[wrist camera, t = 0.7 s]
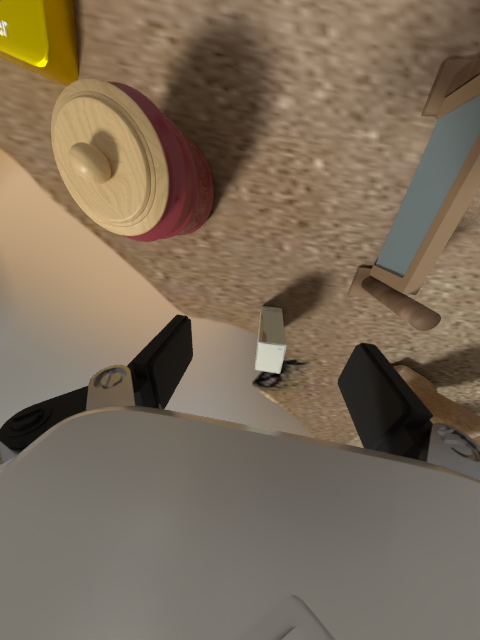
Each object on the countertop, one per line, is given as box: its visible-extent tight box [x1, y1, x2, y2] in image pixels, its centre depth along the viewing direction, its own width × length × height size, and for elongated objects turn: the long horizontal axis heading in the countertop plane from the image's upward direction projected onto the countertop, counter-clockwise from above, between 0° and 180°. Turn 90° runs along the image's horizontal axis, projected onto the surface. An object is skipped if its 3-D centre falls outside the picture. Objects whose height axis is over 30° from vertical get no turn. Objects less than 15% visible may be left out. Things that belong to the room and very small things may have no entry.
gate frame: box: [348, 57, 480, 331], centre depth 20 cm, size 27×5×14 cm, turn 177°
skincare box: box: [255, 306, 286, 374], centre depth 33 cm, size 6×4×12 cm
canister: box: [51, 78, 214, 242], centre depth 21 cm, size 13×13×18 cm
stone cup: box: [393, 365, 480, 445], centre depth 35 cm, size 15×12×15 cm
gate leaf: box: [369, 75, 480, 295], centre depth 21 cm, size 20×2×9 cm, turn 177°
